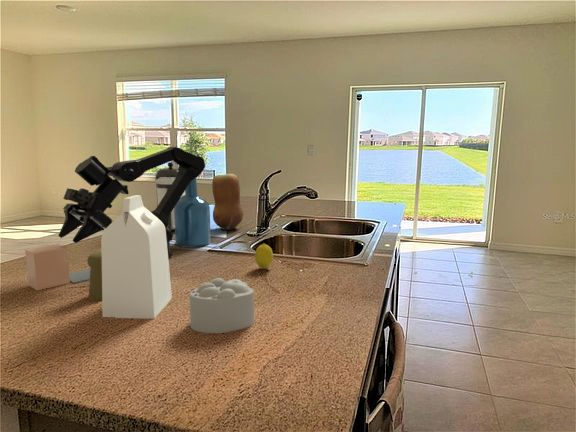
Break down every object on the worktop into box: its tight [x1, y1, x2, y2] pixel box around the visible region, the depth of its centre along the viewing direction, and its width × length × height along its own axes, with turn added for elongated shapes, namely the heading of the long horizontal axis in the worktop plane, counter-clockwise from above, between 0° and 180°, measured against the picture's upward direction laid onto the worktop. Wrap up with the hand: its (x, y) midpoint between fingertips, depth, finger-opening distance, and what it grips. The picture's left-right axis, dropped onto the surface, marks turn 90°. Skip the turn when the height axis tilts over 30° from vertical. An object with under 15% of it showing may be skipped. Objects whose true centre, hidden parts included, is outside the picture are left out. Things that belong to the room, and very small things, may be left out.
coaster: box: [69, 268, 91, 284], centre depth 116 cm, size 11×9×1 cm
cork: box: [86, 251, 102, 301], centre depth 100 cm, size 6×6×11 cm
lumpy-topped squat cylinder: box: [188, 277, 255, 334], centre depth 85 cm, size 10×13×9 cm
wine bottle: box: [174, 177, 211, 248], centre depth 151 cm, size 14×13×30 cm
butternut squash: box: [212, 173, 245, 231], centre depth 178 cm, size 14×13×25 cm
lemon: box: [254, 243, 274, 270], centre depth 122 cm, size 6×6×8 cm
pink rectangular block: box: [24, 243, 71, 292], centre depth 108 cm, size 8×6×10 cm
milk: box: [100, 194, 173, 320], centre depth 91 cm, size 12×12×26 cm
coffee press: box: [154, 161, 185, 234], centre depth 177 cm, size 17×16×30 cm
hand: (66, 239), depth 111 cm, fingers open, 9 cm apart
